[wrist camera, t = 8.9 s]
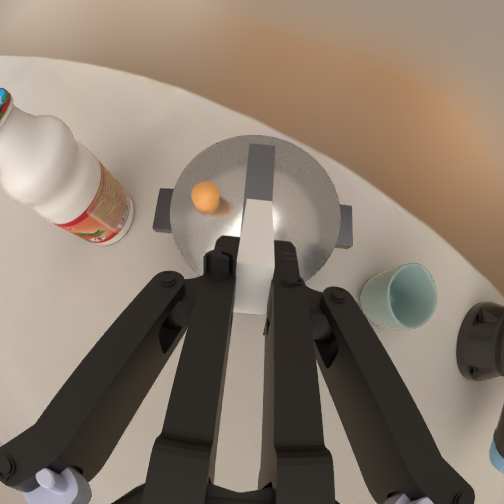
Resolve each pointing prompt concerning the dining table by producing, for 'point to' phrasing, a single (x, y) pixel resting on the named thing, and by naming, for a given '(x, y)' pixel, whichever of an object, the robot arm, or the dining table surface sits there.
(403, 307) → the cup
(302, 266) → the lid
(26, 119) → the fruit juice
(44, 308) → the dining table surface
